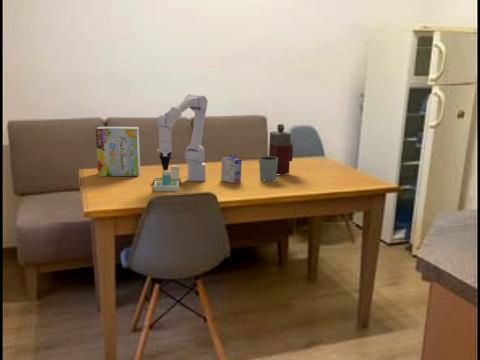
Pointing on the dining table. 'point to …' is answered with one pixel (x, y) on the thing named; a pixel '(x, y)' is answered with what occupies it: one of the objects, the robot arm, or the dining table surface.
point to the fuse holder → (161, 179)
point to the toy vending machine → (281, 149)
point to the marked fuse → (166, 178)
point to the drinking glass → (268, 168)
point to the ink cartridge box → (231, 169)
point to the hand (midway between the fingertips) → (165, 168)
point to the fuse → (174, 172)
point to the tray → (159, 186)
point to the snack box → (118, 151)
